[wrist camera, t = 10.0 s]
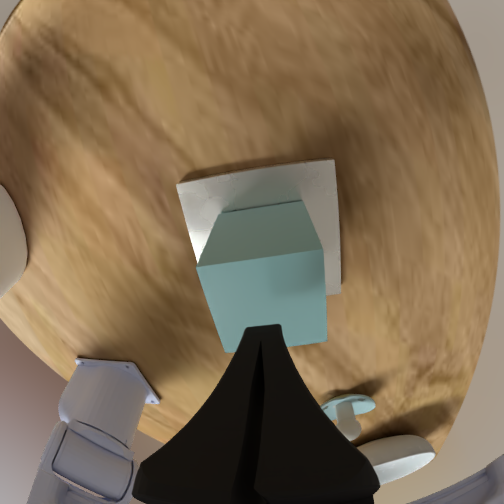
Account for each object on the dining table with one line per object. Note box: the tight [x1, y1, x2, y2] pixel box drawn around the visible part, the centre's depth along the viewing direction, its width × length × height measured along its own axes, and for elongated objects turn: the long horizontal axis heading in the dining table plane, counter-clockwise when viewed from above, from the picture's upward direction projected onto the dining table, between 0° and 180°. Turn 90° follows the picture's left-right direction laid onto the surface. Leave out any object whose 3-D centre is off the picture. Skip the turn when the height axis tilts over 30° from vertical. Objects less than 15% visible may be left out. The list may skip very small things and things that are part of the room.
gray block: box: [176, 158, 341, 296], centre depth 16 cm, size 10×10×7 cm
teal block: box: [196, 201, 327, 353], centre depth 16 cm, size 5×5×7 cm
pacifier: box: [320, 394, 375, 441], centre depth 26 cm, size 7×6×6 cm
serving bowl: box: [356, 435, 435, 485], centre depth 35 cm, size 21×21×7 cm
